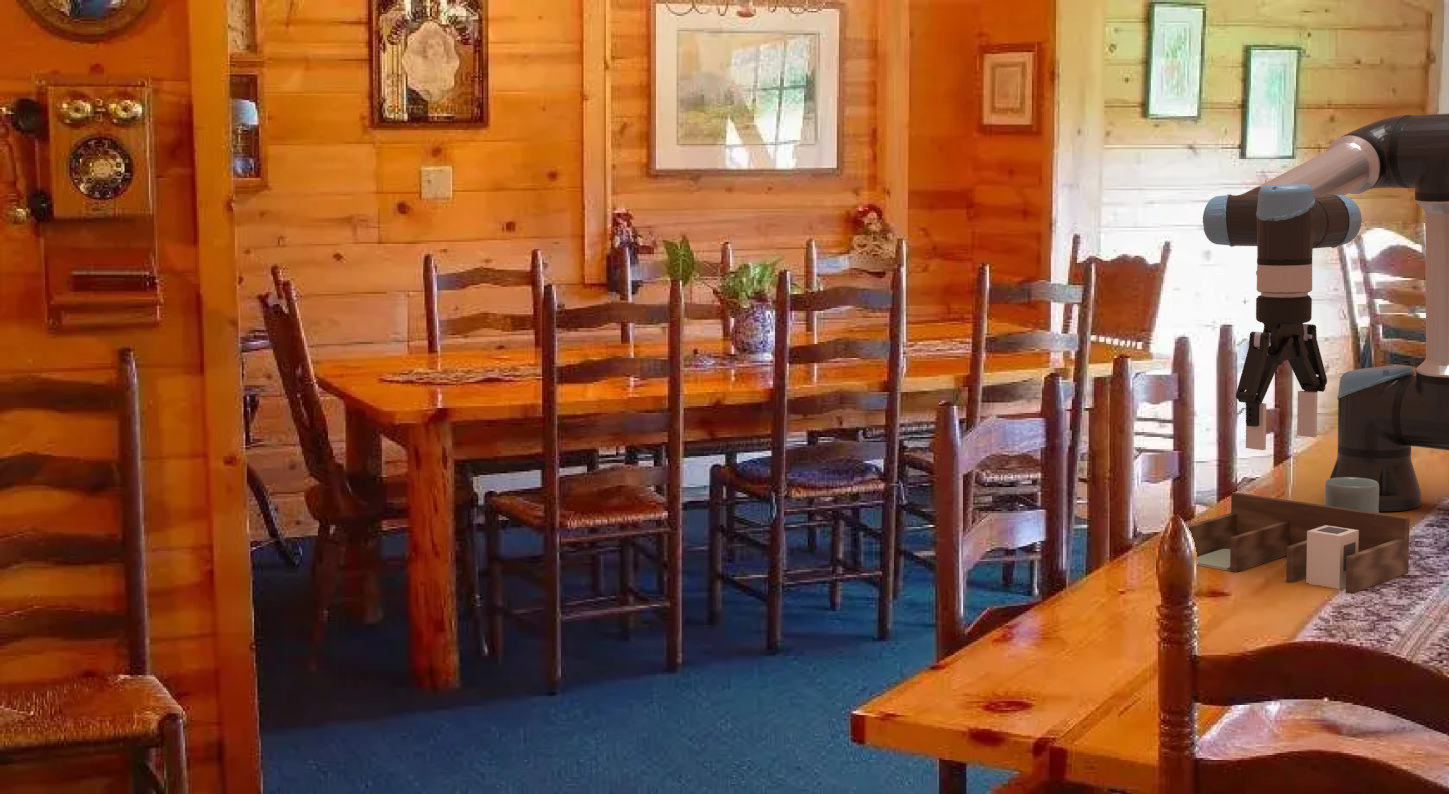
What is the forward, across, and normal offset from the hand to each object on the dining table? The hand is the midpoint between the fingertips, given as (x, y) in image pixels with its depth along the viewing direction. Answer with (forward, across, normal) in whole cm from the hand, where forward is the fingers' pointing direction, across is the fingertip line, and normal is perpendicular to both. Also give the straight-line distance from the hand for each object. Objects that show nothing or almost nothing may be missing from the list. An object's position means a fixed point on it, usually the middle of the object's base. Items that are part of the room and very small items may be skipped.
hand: (1281, 442), depth 250 cm
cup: (+19, -20, 0) cm, 28 cm away
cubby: (+19, -3, 0) cm, 19 cm away
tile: (+19, 0, -9) cm, 21 cm away
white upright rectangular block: (+19, +2, +9) cm, 21 cm away
